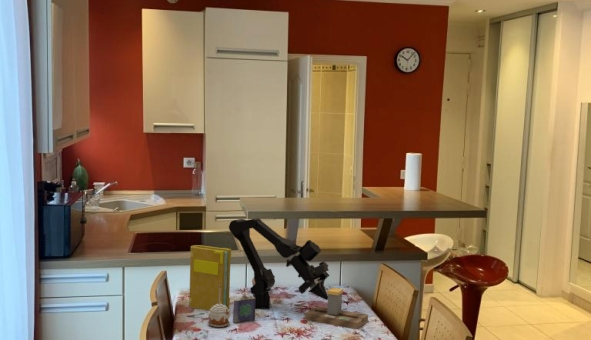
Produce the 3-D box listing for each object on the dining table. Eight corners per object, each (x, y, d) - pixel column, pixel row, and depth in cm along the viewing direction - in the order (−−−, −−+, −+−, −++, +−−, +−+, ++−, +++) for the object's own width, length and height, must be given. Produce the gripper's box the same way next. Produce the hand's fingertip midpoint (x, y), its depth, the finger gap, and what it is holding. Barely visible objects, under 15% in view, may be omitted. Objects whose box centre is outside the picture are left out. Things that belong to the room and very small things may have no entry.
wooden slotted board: (304, 319, 228) (305, 312, 228) (316, 311, 239) (317, 305, 239) (357, 329, 219) (357, 322, 219) (367, 320, 230) (368, 314, 229)
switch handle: (326, 318, 228) (327, 290, 227) (331, 314, 233) (332, 287, 232) (337, 320, 226) (338, 292, 225) (342, 316, 231) (343, 289, 230)
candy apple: (230, 327, 216) (232, 287, 215) (210, 328, 213) (211, 288, 213) (227, 321, 223) (228, 282, 222) (207, 322, 221) (208, 283, 220)
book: (229, 309, 239) (231, 249, 237) (220, 313, 232) (222, 251, 231) (195, 302, 246) (196, 244, 244) (185, 306, 240) (187, 247, 238)
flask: (234, 323, 220) (235, 296, 220) (231, 321, 223) (232, 294, 222) (256, 320, 225) (257, 293, 224) (252, 318, 227) (253, 291, 227)
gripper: (306, 260, 223) (332, 292, 219) (325, 252, 240) (349, 282, 236) (288, 277, 227) (312, 309, 223) (307, 268, 244) (331, 298, 240)
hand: (327, 299), depth 230 cm, fingers closed
